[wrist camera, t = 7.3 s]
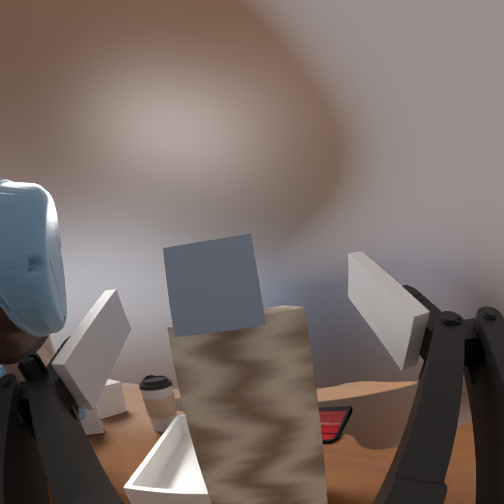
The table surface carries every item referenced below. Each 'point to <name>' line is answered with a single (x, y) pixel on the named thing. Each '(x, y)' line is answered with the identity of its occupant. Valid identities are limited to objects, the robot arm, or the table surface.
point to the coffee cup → (159, 401)
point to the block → (213, 286)
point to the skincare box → (92, 423)
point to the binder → (333, 422)
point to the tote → (169, 471)
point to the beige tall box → (254, 410)
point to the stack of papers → (111, 400)
